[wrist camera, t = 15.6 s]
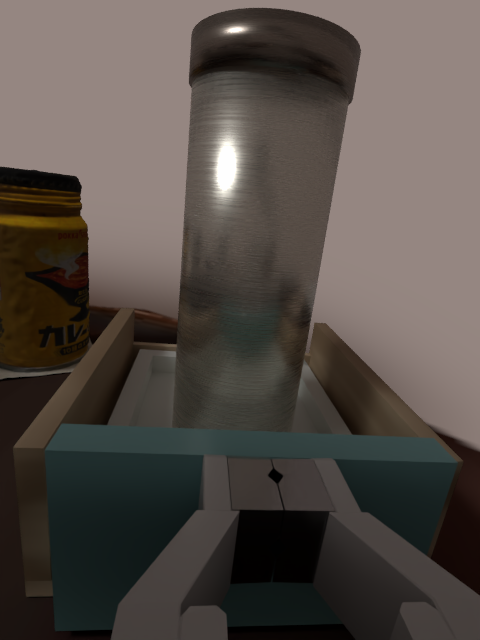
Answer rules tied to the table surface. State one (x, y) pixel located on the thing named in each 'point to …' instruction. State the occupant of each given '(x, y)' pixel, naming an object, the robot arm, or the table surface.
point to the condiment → (42, 274)
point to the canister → (256, 210)
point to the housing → (121, 351)
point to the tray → (184, 488)
